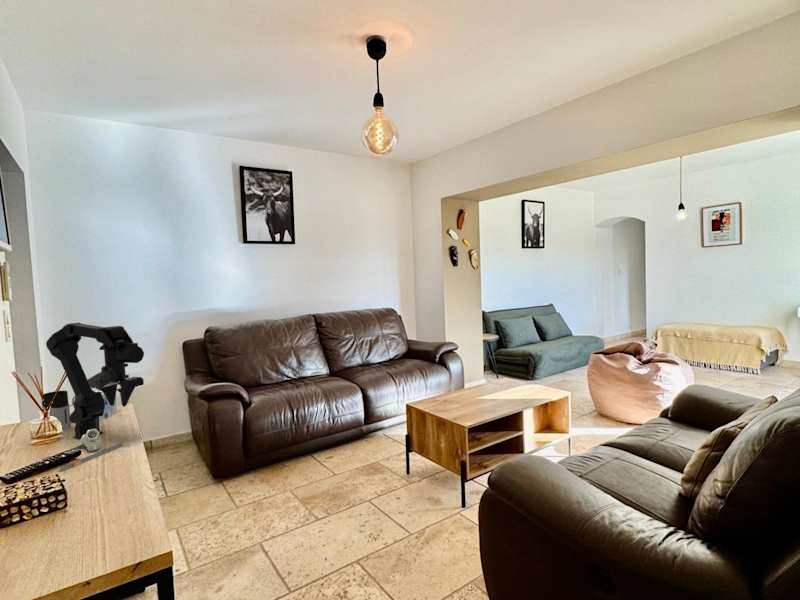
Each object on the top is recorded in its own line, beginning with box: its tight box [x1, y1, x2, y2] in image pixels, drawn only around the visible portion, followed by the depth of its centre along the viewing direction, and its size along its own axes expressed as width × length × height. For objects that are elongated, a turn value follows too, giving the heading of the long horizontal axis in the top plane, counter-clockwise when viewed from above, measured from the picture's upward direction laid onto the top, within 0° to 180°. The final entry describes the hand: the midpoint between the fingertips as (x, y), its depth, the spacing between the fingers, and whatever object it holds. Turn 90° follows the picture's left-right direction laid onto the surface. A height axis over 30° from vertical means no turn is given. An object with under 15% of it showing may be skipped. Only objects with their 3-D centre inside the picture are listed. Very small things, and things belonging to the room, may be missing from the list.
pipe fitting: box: [79, 429, 101, 452], centre depth 136 cm, size 8×4×7 cm, turn 53°
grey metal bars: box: [31, 442, 124, 472], centre depth 131 cm, size 19×14×2 cm
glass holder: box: [41, 390, 76, 434], centre depth 155 cm, size 9×14×15 cm, turn 108°
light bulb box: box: [94, 389, 118, 422], centre depth 170 cm, size 11×7×11 cm, turn 1°
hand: (118, 405), depth 145 cm, fingers open, 5 cm apart
